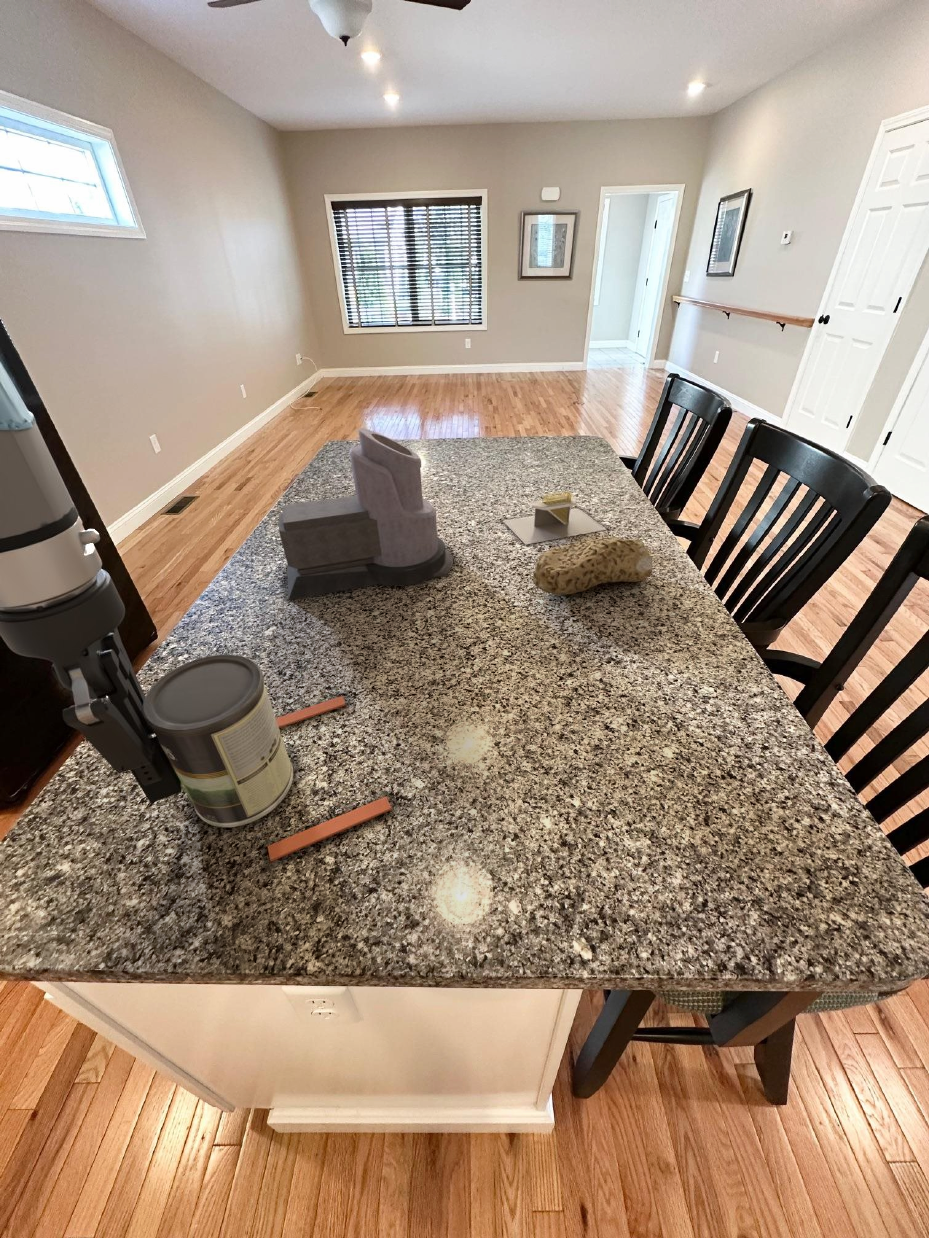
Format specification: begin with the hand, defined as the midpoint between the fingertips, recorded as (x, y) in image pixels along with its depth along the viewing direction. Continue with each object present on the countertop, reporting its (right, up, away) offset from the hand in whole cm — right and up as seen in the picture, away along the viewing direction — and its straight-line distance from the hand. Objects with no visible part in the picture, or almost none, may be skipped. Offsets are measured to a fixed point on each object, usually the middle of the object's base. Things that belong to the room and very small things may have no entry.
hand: (166, 791), depth 50 cm
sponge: (+50, +23, +37) cm, 67 cm away
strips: (+12, 0, +7) cm, 14 cm away
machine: (+12, +26, +44) cm, 52 cm away
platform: (+48, +36, +57) cm, 82 cm away
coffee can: (+6, -1, +5) cm, 8 cm away
